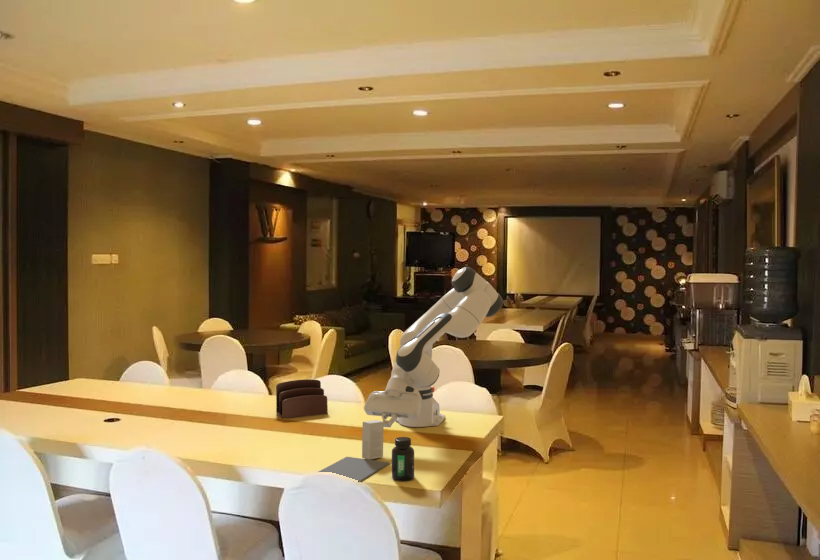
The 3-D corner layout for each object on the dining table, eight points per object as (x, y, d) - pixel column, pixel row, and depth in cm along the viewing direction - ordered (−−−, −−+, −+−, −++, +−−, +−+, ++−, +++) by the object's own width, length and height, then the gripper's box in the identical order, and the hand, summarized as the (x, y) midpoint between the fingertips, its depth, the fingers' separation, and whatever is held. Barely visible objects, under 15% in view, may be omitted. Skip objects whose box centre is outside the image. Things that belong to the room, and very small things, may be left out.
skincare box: (374, 455, 236) (375, 419, 236) (383, 457, 233) (384, 421, 233) (361, 457, 232) (362, 421, 232) (369, 460, 228) (370, 423, 229)
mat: (346, 458, 233) (346, 456, 233) (389, 463, 226) (389, 462, 226) (314, 475, 215) (314, 473, 215) (359, 482, 208) (359, 480, 208)
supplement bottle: (403, 483, 207) (403, 443, 207) (387, 478, 212) (387, 439, 211) (419, 477, 212) (418, 438, 212) (402, 472, 217) (402, 434, 216)
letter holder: (276, 414, 298) (275, 381, 297) (320, 409, 307) (320, 377, 306) (282, 419, 289) (281, 385, 288) (327, 414, 298) (327, 381, 297)
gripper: (368, 385, 249) (355, 418, 240) (421, 389, 241) (410, 423, 232) (373, 395, 253) (362, 428, 244) (426, 399, 245) (415, 433, 236)
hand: (386, 426), depth 238 cm, fingers closed
